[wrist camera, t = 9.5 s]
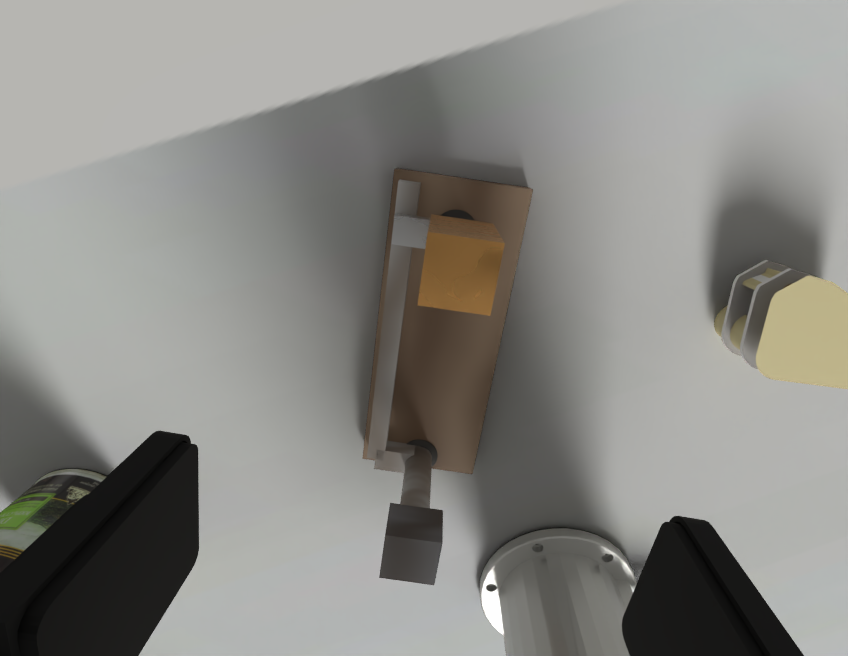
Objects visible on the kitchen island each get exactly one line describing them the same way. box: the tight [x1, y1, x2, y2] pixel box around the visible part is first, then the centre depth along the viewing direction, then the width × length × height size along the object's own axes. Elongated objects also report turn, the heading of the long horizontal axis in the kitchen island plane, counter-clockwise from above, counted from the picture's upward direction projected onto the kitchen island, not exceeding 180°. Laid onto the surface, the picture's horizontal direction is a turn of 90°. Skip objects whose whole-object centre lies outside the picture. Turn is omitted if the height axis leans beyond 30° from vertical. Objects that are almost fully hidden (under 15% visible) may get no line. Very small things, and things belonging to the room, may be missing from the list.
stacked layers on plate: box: [714, 260, 848, 389], centre depth 28 cm, size 10×9×6 cm
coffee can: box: [0, 469, 107, 573], centre depth 33 cm, size 10×10×14 cm
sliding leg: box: [391, 213, 505, 316], centre depth 23 cm, size 5×3×10 cm, turn 82°
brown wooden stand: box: [363, 168, 533, 585], centre depth 27 cm, size 8×20×11 cm, turn 172°
